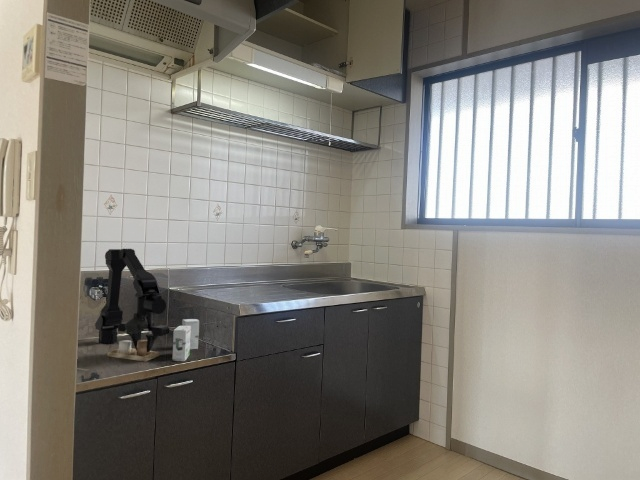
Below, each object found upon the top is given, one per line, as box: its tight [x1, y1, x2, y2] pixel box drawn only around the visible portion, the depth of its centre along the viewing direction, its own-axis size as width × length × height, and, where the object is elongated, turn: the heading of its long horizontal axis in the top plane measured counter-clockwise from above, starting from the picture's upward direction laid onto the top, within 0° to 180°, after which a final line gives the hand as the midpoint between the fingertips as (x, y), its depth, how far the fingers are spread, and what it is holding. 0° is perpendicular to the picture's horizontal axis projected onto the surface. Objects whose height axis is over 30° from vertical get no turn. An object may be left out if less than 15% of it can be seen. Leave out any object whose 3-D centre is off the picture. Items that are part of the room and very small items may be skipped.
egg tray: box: [107, 347, 160, 362], centre depth 185 cm, size 16×9×2 cm, turn 75°
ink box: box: [171, 325, 191, 362], centre depth 188 cm, size 9×5×12 cm, turn 3°
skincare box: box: [181, 318, 200, 350], centre depth 201 cm, size 6×4×12 cm
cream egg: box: [118, 339, 133, 354], centre depth 186 cm, size 4×4×5 cm
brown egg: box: [137, 339, 149, 356], centre depth 184 cm, size 4×4×5 cm
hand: (142, 351), depth 184 cm, fingers closed on brown egg, 4 cm apart
